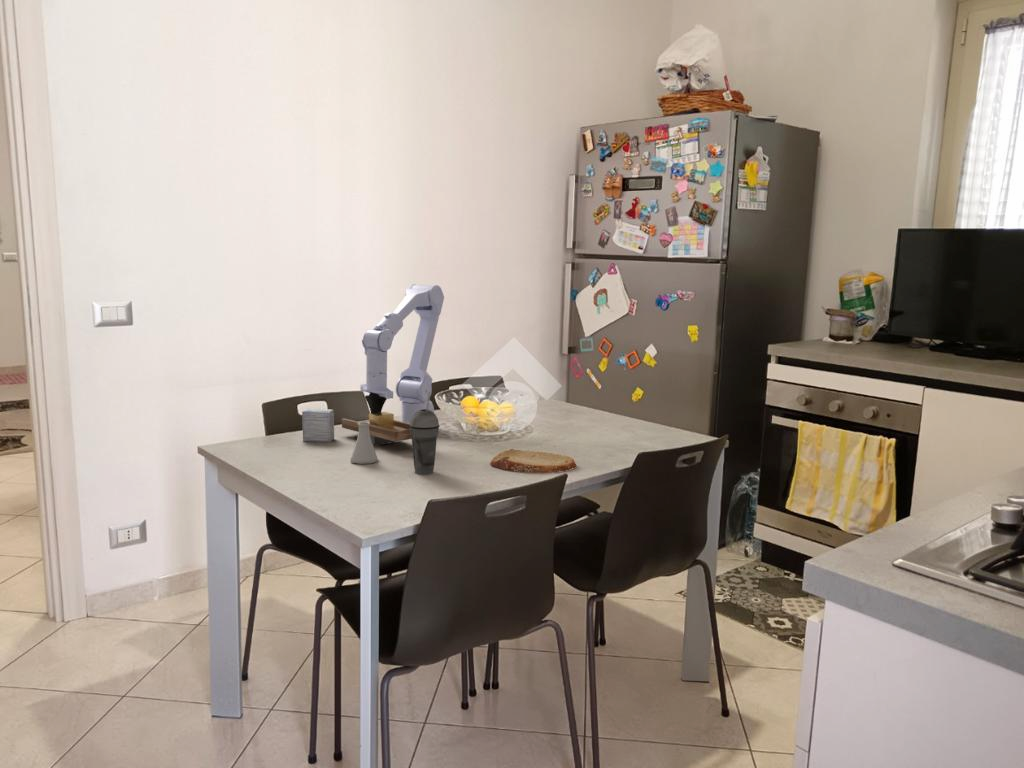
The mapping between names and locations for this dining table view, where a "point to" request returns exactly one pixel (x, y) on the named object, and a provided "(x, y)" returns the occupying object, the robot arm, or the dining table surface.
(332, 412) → the grey streaked box
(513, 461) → the slice of bread
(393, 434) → the beam
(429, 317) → the robot arm
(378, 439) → the fulcrum
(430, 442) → the beverage cup
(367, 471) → the dining table surface
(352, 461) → the flask
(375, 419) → the wood grain cube
